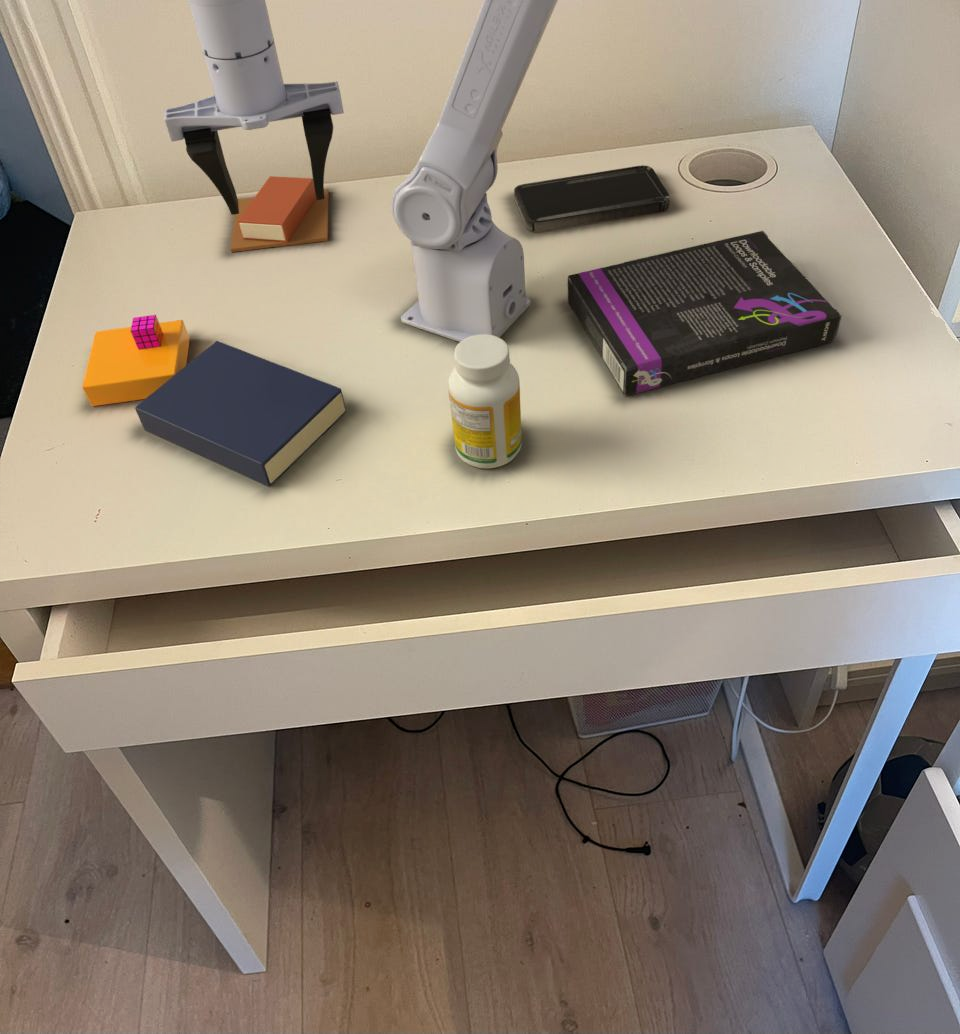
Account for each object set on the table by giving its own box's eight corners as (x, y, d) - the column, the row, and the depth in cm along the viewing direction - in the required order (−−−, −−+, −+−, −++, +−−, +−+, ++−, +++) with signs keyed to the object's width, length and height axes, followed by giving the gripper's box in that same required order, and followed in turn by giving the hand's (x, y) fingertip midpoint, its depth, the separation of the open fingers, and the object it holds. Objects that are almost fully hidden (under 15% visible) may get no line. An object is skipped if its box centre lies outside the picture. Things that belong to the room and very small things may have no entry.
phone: (672, 200, 96) (527, 223, 95) (671, 210, 97) (527, 233, 96) (649, 163, 101) (511, 184, 100) (649, 173, 102) (512, 194, 101)
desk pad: (328, 191, 105) (327, 188, 105) (327, 240, 98) (327, 237, 98) (238, 202, 105) (237, 199, 104) (231, 252, 98) (230, 248, 98)
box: (622, 402, 79) (837, 344, 81) (624, 369, 76) (846, 311, 79) (566, 306, 88) (761, 257, 90) (565, 274, 85) (766, 224, 88)
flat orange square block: (183, 394, 83) (167, 355, 80) (91, 407, 83) (72, 368, 80) (190, 338, 88) (175, 300, 85) (103, 350, 88) (86, 312, 85)
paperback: (287, 243, 98) (282, 223, 96) (242, 240, 99) (236, 221, 97) (317, 197, 103) (313, 178, 102) (274, 194, 104) (269, 176, 103)
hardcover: (347, 412, 80) (342, 388, 78) (270, 488, 75) (262, 464, 73) (224, 363, 86) (216, 340, 84) (144, 430, 80) (133, 407, 78)
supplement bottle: (470, 479, 74) (459, 383, 66) (445, 436, 77) (432, 341, 70) (533, 457, 75) (529, 360, 68) (506, 416, 78) (500, 320, 71)
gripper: (144, 80, 72) (197, 238, 82) (333, 50, 73) (362, 209, 84) (147, 44, 77) (196, 198, 87) (325, 16, 78) (353, 171, 88)
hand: (277, 201), depth 86 cm, fingers open, 7 cm apart
